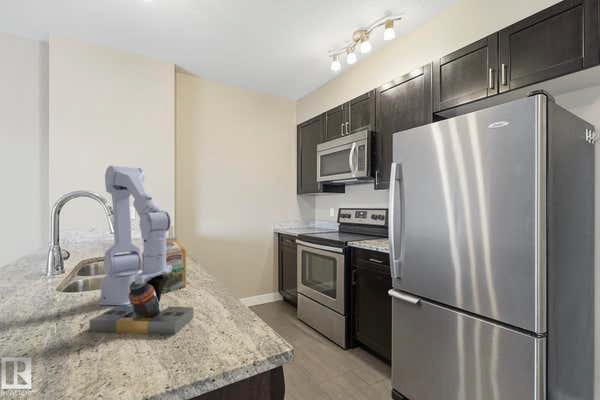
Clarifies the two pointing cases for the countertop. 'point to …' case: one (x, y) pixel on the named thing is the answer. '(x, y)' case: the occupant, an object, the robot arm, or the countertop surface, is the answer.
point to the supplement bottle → (144, 300)
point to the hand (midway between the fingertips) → (154, 303)
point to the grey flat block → (141, 321)
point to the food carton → (175, 265)
